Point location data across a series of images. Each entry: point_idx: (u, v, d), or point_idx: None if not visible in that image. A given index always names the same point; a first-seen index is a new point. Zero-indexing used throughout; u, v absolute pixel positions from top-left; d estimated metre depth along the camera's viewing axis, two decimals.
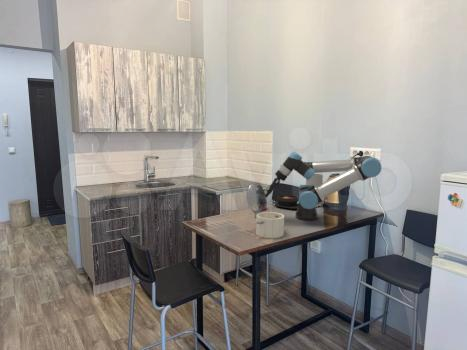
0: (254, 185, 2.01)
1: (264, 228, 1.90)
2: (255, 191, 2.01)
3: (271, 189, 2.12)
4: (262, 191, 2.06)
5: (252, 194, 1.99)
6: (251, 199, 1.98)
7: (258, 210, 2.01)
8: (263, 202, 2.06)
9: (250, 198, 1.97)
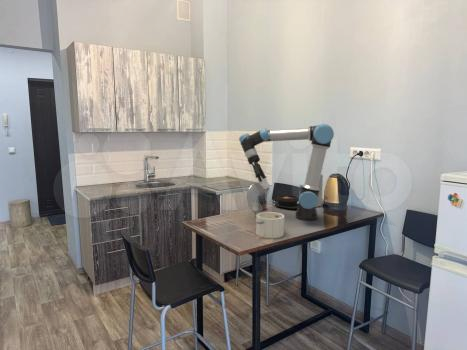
0: (255, 185, 2.01)
1: (264, 228, 1.90)
2: (255, 191, 2.01)
3: (256, 171, 2.07)
4: (262, 191, 2.06)
5: (252, 194, 1.99)
6: (252, 199, 1.98)
7: (258, 210, 2.01)
8: (263, 202, 2.06)
9: (250, 198, 1.97)
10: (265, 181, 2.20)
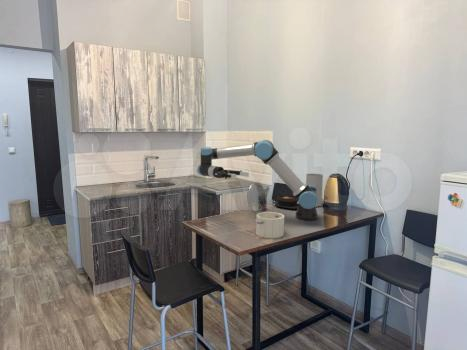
0: (255, 185, 2.01)
1: (264, 228, 1.90)
2: (256, 191, 2.01)
3: (220, 175, 2.07)
4: (263, 191, 2.06)
5: (252, 194, 1.99)
6: (252, 199, 1.98)
7: (258, 210, 2.01)
8: (263, 202, 2.06)
9: (250, 198, 1.97)
10: (242, 173, 2.14)
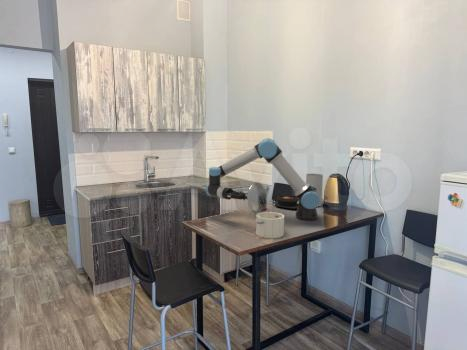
0: (255, 185, 2.01)
1: (264, 228, 1.90)
2: (256, 191, 2.01)
3: (238, 197, 2.05)
4: (263, 191, 2.06)
5: (253, 194, 1.98)
6: (252, 199, 1.98)
7: (258, 210, 2.01)
8: (263, 202, 2.06)
9: (251, 198, 1.97)
10: None
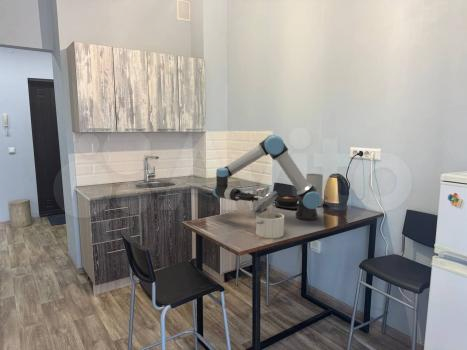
0: (272, 194, 1.93)
1: (264, 228, 1.90)
2: (269, 198, 1.95)
3: (246, 198, 2.02)
4: (275, 197, 2.01)
5: (265, 200, 1.93)
6: (261, 204, 1.94)
7: (259, 211, 2.01)
8: (268, 205, 2.04)
9: (260, 204, 1.93)
10: None
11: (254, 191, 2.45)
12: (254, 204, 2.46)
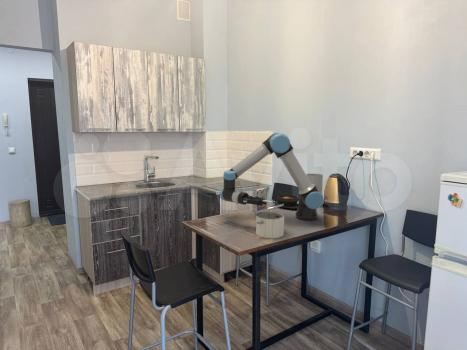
0: (279, 206, 1.91)
1: (264, 228, 1.90)
2: None
3: (255, 202, 1.97)
4: None
5: None
6: None
7: None
8: None
9: None
10: None
11: (254, 191, 2.45)
12: None
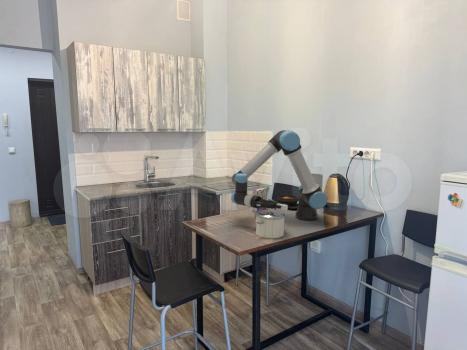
0: None
1: (264, 228, 1.90)
2: None
3: (268, 206, 1.91)
4: None
5: None
6: None
7: None
8: None
9: None
10: None
11: (254, 191, 2.45)
12: None
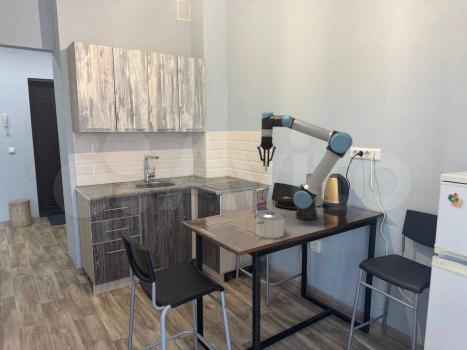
0: None
1: (264, 228, 1.90)
2: None
3: (260, 157, 2.25)
4: None
5: None
6: None
7: None
8: None
9: None
10: None
11: (254, 191, 2.45)
12: (254, 204, 2.46)
